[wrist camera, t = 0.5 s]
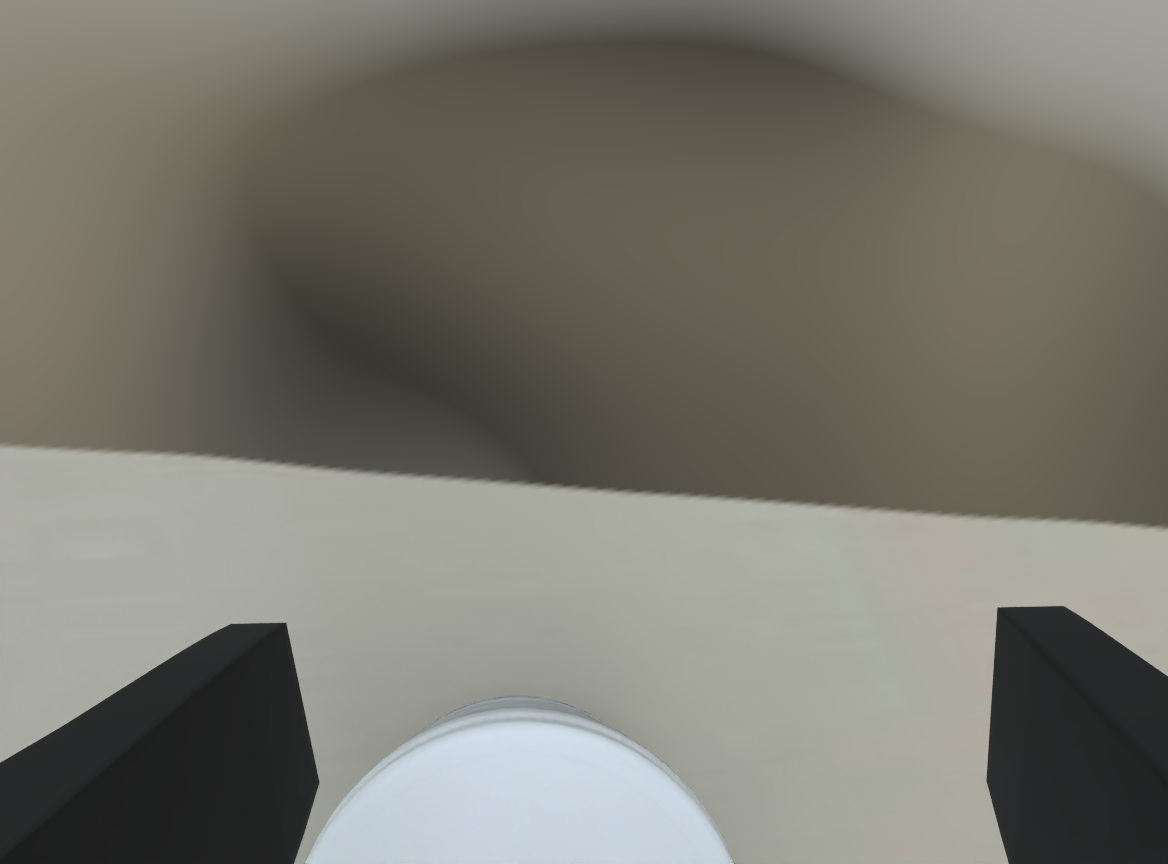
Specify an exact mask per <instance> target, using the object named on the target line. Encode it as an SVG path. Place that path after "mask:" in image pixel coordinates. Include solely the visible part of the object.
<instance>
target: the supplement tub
mask: <svg viewBox="0 0 1168 864" xmlns="http://www.w3.org/2000/svg"><path fill="white" fill-rule="evenodd" d="M305 864H734V862H733V859H732V857H731V854H730V852H729V850H728V847H727V845H726V842H725V840H724V839H723V837H722V835H721V834H720V832H719V830H718V828H717V827H716V825H715V823H714V821H713V820H712V818H711V816H710V815H709V813H708V812H707V810H706V809H705V808H704V807H703V805H702V804H701V803H700V801H699V800H698V799H697V798H696V796H695V795H694V794H693V792H692V791H691V790H690V789H689V787H688V786H687V785H686V784H685V783H684V782H683V781H682V780H681V779H680V778H679V777H678V776H677V775H676V774H675V773H674V772H673V771H672V770H670V769H669V768H668V767H667V766H666V765H665V764H664V763H663V762H662V761H660V760H659V759H658V758H656V757H655V756H654V755H653V754H651V753H650V752H649V751H647V750H646V749H644V748H643V747H641V746H640V745H638V744H637V743H635V742H634V741H632V740H631V739H629V738H627V737H626V736H624V735H623V734H621V733H619V732H618V731H616V730H614V729H612V728H611V727H609V726H608V725H606V724H604V723H603V722H601V721H599V720H598V719H596V718H595V717H593V716H591V715H590V714H588V713H586V712H584V711H582V710H579V709H577V708H575V707H572V706H570V705H567V704H564V703H560V702H557V701H553V700H549V699H543V698H537V697H528V696H508V697H499V698H493V699H488V700H483V701H479V702H476V703H472V704H470V705H467V706H464V707H462V708H459V709H457V710H455V711H453V712H451V713H449V714H447V715H445V716H443V717H442V718H440V719H438V720H437V721H435V722H434V723H432V724H431V725H429V726H428V727H426V728H425V729H423V730H422V731H421V732H419V733H418V734H416V735H415V736H413V737H412V738H411V739H409V740H408V741H407V742H405V743H404V744H402V745H401V746H399V747H398V748H397V749H395V750H394V751H393V752H391V753H390V754H389V755H388V756H386V757H385V758H384V759H382V760H381V761H380V762H379V763H378V764H377V765H376V766H375V767H374V768H372V769H371V770H370V771H369V772H368V773H367V774H366V775H365V776H364V777H363V778H362V779H361V780H360V781H359V782H358V783H357V784H356V785H355V786H354V787H353V788H352V789H351V790H350V792H349V793H348V794H347V795H346V796H345V797H344V798H343V800H342V801H341V802H340V804H339V805H338V806H337V808H336V809H335V810H334V812H333V813H332V814H331V816H330V818H329V819H328V821H327V822H326V824H325V826H324V827H323V829H322V830H321V832H320V834H319V836H318V838H317V839H316V841H315V843H314V845H313V847H312V850H311V852H310V854H309V856H308V858H307V860H306V862H305Z"/></svg>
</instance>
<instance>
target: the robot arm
mask: <svg viewBox="0 0 1168 864" xmlns="http://www.w3.org/2000/svg"><path fill="white" fill-rule="evenodd" d="M987 784H988V788H989V792H990V795H991V799H992V803H993V807H994V811H995V815H996V818H997V822H998V826H999V830H1000V834H1001V837H1002V841H1003V844H1004V848H1005V851H1006V855H1007V858H1008V862H1009V864H1168V676H1166V675H1165V674H1163V673H1162V672H1161V671H1159V670H1158V669H1156V668H1155V667H1153V666H1152V665H1151V664H1149V663H1148V662H1146V661H1145V660H1143V659H1142V658H1140V657H1139V656H1138V655H1136V654H1135V653H1133V652H1132V651H1130V650H1129V649H1128V648H1126V647H1125V646H1123V645H1122V644H1120V643H1119V642H1117V641H1116V640H1115V639H1113V638H1112V637H1110V636H1109V635H1107V634H1106V633H1104V632H1103V631H1102V630H1100V629H1099V628H1097V627H1096V626H1094V625H1093V624H1091V623H1090V622H1088V621H1087V620H1085V619H1084V618H1082V617H1081V616H1079V615H1077V614H1076V613H1074V612H1072V611H1071V610H1069V609H1068V608H1066V607H1064V606H1048V607H1001V608H998V610H997V625H996V641H995V657H994V672H993V688H992V704H991V719H990V735H989V751H988V766H987ZM318 785H319V779H318V774H317V769H316V764H315V760H314V755H313V750H312V745H311V740H310V736H309V731H308V726H307V721H306V716H305V711H304V707H303V702H302V697H301V692H300V687H299V683H298V678H297V673H296V668H295V663H294V658H293V654H292V649H291V644H290V639H289V634H288V630H287V625H286V623H256V624H230V625H228V626H226V627H224V628H222V629H220V630H218V631H216V632H214V633H212V634H210V635H209V636H207V637H205V638H203V639H201V640H200V641H198V642H196V643H195V644H193V645H191V646H190V647H188V648H186V649H185V650H183V651H181V652H180V653H178V654H176V655H175V656H173V657H172V658H170V659H168V660H167V661H165V662H164V663H162V664H160V665H159V666H157V667H156V668H154V669H152V670H151V671H149V672H148V673H146V674H145V675H143V676H141V677H140V678H138V679H137V680H135V681H134V682H132V683H130V684H129V685H127V686H126V687H124V688H122V689H121V690H119V691H118V692H116V693H115V694H113V695H111V696H110V697H108V698H107V699H105V700H103V701H102V702H100V703H99V704H97V705H96V706H94V707H92V708H91V709H89V710H88V711H86V712H84V713H83V714H81V715H80V716H78V717H77V718H75V719H73V720H72V721H70V722H69V723H67V724H65V725H64V726H62V727H60V728H59V729H57V730H55V731H54V732H52V733H50V734H49V735H47V736H45V737H43V738H42V739H40V740H38V741H37V742H35V743H33V744H32V745H30V746H28V747H26V748H25V749H23V750H21V751H20V752H18V753H16V754H15V755H13V756H11V757H9V758H8V759H6V760H4V761H3V762H1V763H0V864H294V862H295V859H296V856H297V853H298V850H299V847H300V844H301V841H302V838H303V835H304V832H305V829H306V825H307V822H308V819H309V815H310V812H311V808H312V805H313V802H314V798H315V795H316V792H317V788H318Z"/></svg>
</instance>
